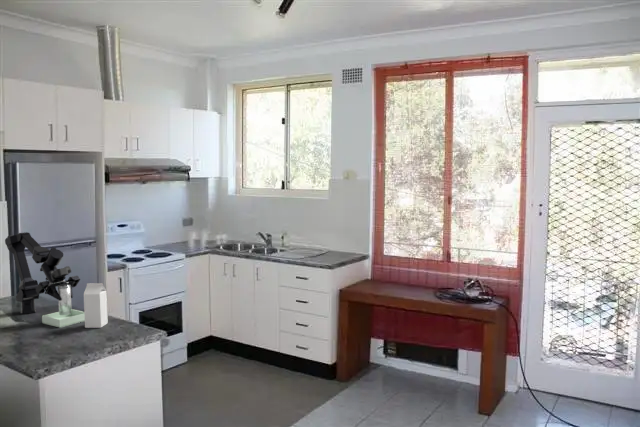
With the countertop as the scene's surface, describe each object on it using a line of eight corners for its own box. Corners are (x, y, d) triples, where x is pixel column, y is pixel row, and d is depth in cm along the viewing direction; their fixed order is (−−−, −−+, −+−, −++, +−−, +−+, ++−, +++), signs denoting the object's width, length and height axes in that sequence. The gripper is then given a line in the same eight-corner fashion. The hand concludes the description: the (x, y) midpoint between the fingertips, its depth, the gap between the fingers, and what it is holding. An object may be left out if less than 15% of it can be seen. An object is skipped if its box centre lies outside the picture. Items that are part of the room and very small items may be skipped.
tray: (42, 323, 243) (42, 315, 243) (71, 316, 254) (71, 308, 254) (59, 327, 235) (59, 319, 235) (89, 320, 247) (88, 312, 247)
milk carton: (101, 328, 234) (99, 285, 233) (84, 328, 234) (83, 285, 233) (107, 323, 241) (106, 281, 240) (92, 323, 241) (90, 281, 240)
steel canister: (56, 313, 244) (55, 285, 243) (68, 311, 248) (67, 283, 247) (61, 315, 241) (60, 287, 240) (73, 313, 245) (72, 285, 244)
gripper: (37, 264, 237) (53, 291, 232) (77, 258, 253) (92, 284, 247) (29, 280, 242) (43, 307, 237) (68, 273, 258) (82, 298, 252)
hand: (66, 298), depth 243 cm, fingers closed on steel canister, 5 cm apart
